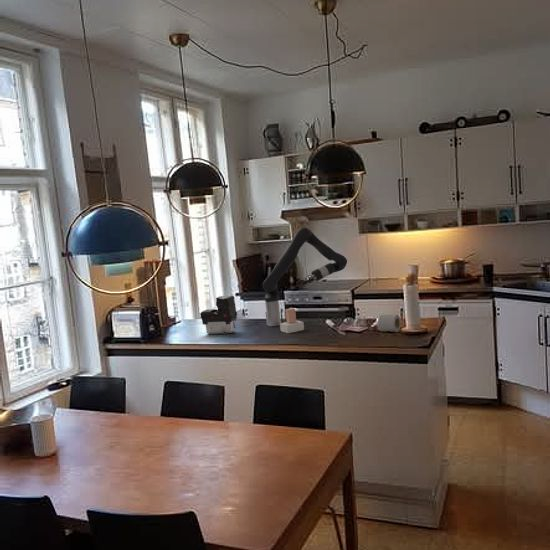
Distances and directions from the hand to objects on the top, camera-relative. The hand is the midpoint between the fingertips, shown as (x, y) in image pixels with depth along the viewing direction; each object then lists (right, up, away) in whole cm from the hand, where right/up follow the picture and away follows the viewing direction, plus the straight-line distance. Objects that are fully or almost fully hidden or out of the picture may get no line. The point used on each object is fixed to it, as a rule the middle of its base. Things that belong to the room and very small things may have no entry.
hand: (299, 284), depth 359 cm
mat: (+5, -31, -10) cm, 33 cm away
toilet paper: (+53, -28, -28) cm, 67 cm away
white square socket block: (-4, -31, -1) cm, 31 cm away
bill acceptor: (-52, -34, +18) cm, 65 cm away
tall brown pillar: (-4, -30, -1) cm, 30 cm away
